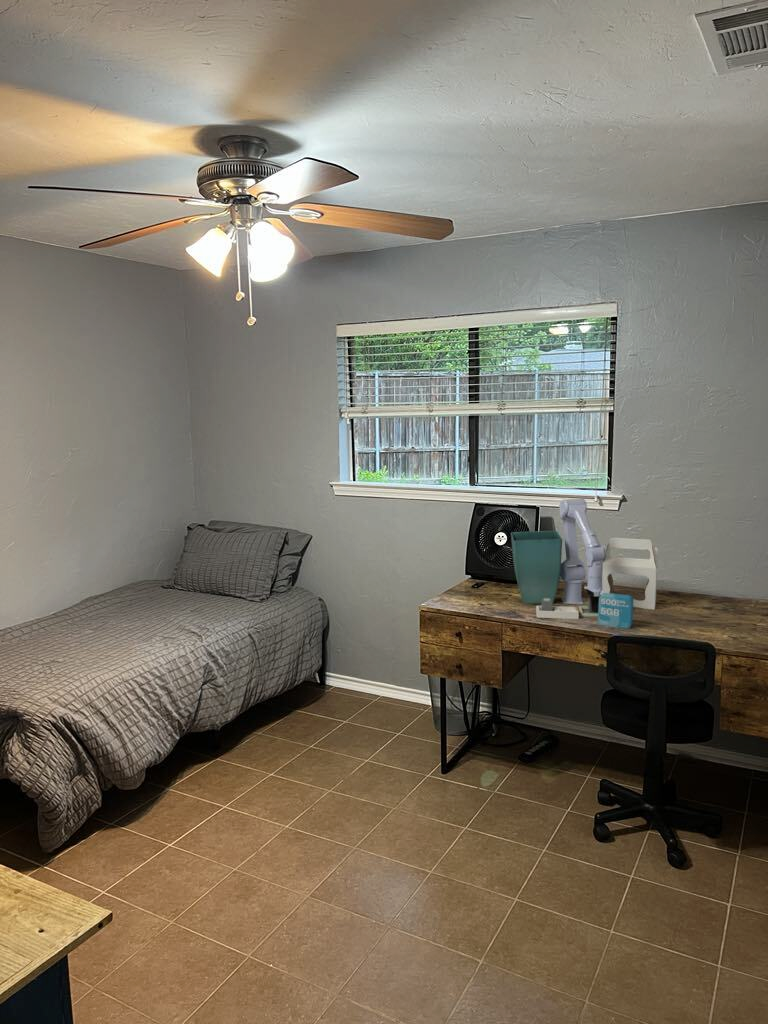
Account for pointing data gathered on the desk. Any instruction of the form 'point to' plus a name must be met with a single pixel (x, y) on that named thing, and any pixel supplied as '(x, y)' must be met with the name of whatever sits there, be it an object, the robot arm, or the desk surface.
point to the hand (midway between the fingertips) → (593, 609)
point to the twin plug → (546, 604)
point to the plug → (590, 607)
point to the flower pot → (537, 564)
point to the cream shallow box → (558, 612)
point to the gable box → (632, 570)
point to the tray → (586, 613)
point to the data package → (615, 610)
